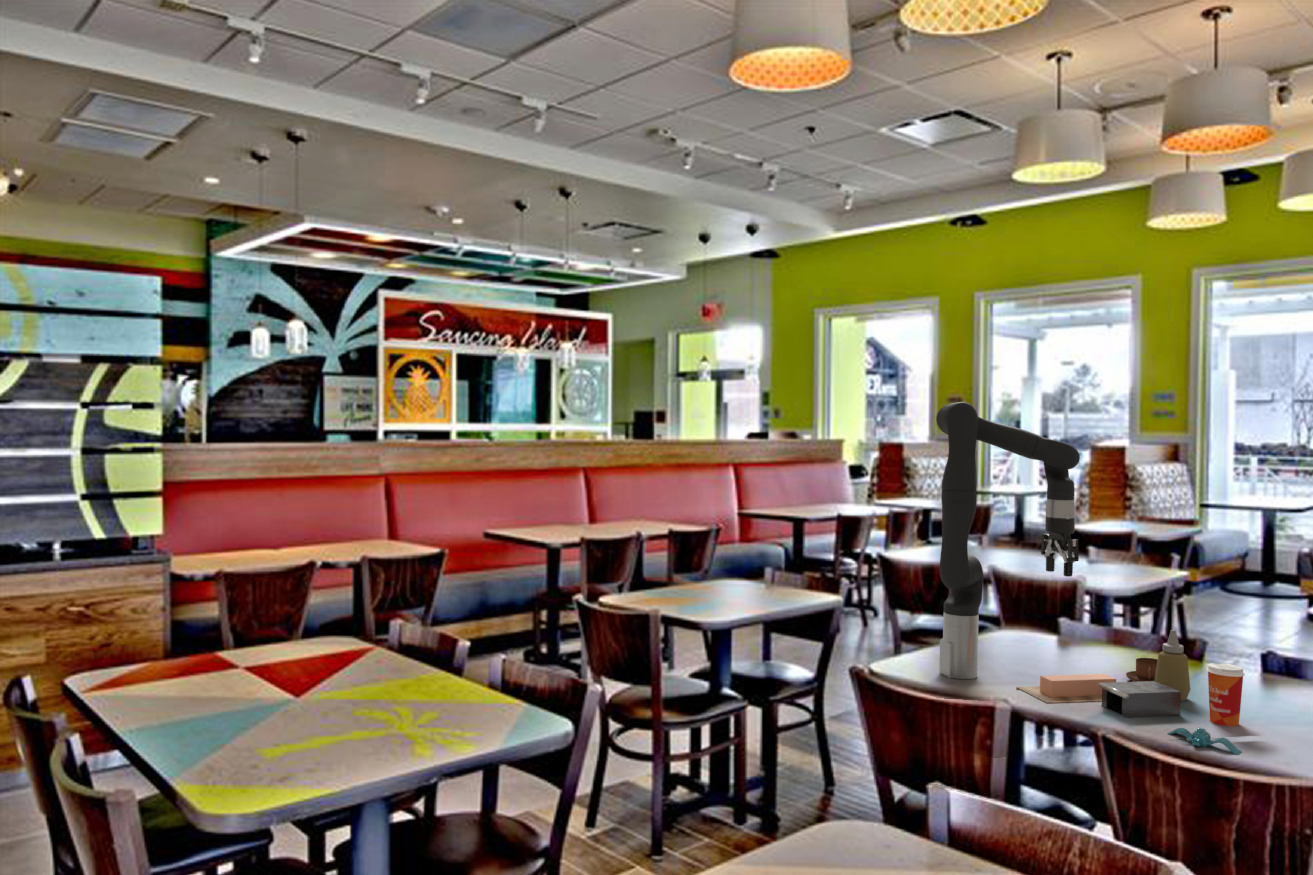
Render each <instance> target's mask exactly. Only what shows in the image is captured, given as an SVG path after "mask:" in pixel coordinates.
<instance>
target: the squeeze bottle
mask: <svg viewBox="0 0 1313 875" xmlns="http://www.w3.org/2000/svg"><path fill="white" fill-rule="evenodd" d="M1169 631H1170V632H1169V636H1168V639H1167V642H1165V643H1162V651H1160V652H1159V653H1157V654H1158V655H1157V659H1158V661H1157V668H1156V675H1155V682H1157V683H1160V684H1162V685H1165V686H1167V687H1170V688H1173V689H1175V690H1178V691H1180V692H1181V700H1180V702H1185V701H1187V699H1188V697H1189V694H1190V692H1191V683H1190V682H1191V681H1190V680H1191V679H1190V672H1189V671H1190V670H1189V659H1188V656H1187V655H1186V654H1185V653H1184V648H1185V647H1184V645H1182V644H1180V642H1179V639H1178V634H1177V630H1175V629H1171V630H1169Z"/></svg>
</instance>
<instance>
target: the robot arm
mask: <svg viewBox="0 0 1313 875" xmlns="http://www.w3.org/2000/svg"><path fill="white" fill-rule="evenodd" d="M935 421H936V425H937V427H938V428H939V429H940V430H941V432H943V433H944V434H945V435H947V438H948V456H947V462H946V464H945V468H944V472H943V476H942V480H941V535H942V537H941V548H940V559H939V577H940V580H941V582H942V583H943V585H944V586H945V587H946V588H947V589H950V592H949V594H948V597H947V598H946V599H945V601H944V602H943V624H942V625H943V628H942V638H940V639H939V673H940V674H941V675H943V676H946V677H947V678H948V679H959V680H960V679H961V680H971V679H976V678H977V677H978V670H979V669H978V667H979V666H978V665H979V664H978V663H979V661H978V660H979V658H978V655H979V653H978V652H979V620H980V619H979V615H980V614H979V613H980V607H981V604H982V599H983V588H984V587H983V586H984V571H983V570H984V569H983V565H982V563H981V562H980V560H979V559H978V558H977V557H976V556H974V555H972V554H969V553H968V543H969V542H968V540H969V535H970V531H971V528H972V525H973V522H974V518H975V515H976V513H977V505H978V502H977V501H978V500H977V499H978V498H977V493H978V492H977V465H976V464H977V462H976V461H977V460H976V448H977V441H979V442H983V443H985V444H989V445H992V446H993V447H996V448H999V449H1002V450H1005V451H1007V452H1010V453H1013V454H1016V455H1018V456H1021V457H1023V458H1027V459H1030V460H1035V461H1040V462H1043V468H1044V474H1045V478H1046V483H1047V488H1046V505H1045V522H1044V523H1045V526H1044V527H1045V529H1044V530H1045V532H1046V533H1042V534H1041V546H1040V554H1041V555H1043V556H1044V558H1045V571H1046V572H1048V573H1051V572H1055V565H1056V564H1055V559H1056V558H1055V557H1056V555H1057V553H1058V554H1059V555H1060V556H1061V557H1062V559H1063V576H1064V577H1067V578H1068V577H1072V576H1073V572H1074V571H1073V568H1074V566H1073V565H1074V563H1075V562H1079V561H1080V560H1079V553H1080V552H1079V550H1080V549H1079V539H1078V538H1077V539H1076V538H1073V539H1072V538H1071V535H1072V534H1074V533H1075V532H1076V530H1075V525H1076V524H1075V522H1076V519H1075V518H1076V505H1075V483H1074V480H1072V479H1071V478H1070V473H1069V470H1071V469H1074V468H1076V466H1077V465H1078V464H1079V462H1080V453H1079V450H1078V449H1077V448H1076V447H1075V446H1073V445H1071V444H1069V443H1066V442H1062V441H1058V440H1054V439H1051V438H1047V437H1044V436H1041V435H1039V434H1037V433H1034V432H1032V431H1028V430H1025V429H1022V428H1019V427H1015V426H1012V425H1007V424H1003V423H998V422H995V421H991V420H989V419H986V418H983V417H981V416H978V412H977V410H976V408H975V407H974V405H972V404H970V403H969V402H966V401H964V402H963V401H959V402H951V403H948V404H945V405H943V406H942V407H941V408H940V409H939V410H938V411H937V413H936V420H935Z"/></svg>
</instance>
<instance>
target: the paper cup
mask: <svg viewBox="0 0 1313 875" xmlns="http://www.w3.org/2000/svg"><path fill="white" fill-rule="evenodd" d="M1207 666H1208V667H1207V668H1206V670H1205V671H1207V684H1208V708H1209V709H1208V710H1209V721H1210V722H1211V723H1212V724H1216V725H1219V726H1222V727H1223V726H1224V727H1238V726H1239V725H1240V716H1241V705H1242V694H1243V682H1244V676H1245V675H1246V674H1245V672H1244V669H1243V667H1241V666H1238V665H1236V664H1231V663H1230V664H1229V663H1223V662H1221V663H1218V662H1217V663H1216V662H1215V663H1212V662H1211V663H1209V664H1208V665H1207Z"/></svg>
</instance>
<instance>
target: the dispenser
mask: <svg viewBox="0 0 1313 875" xmlns="http://www.w3.org/2000/svg"><path fill="white" fill-rule="evenodd" d="M1098 686H1099V687H1100V688H1102V702H1101V705H1100V706H1102V707H1103V708H1105V709H1107V710H1110V711H1112V712H1114V713H1116V714H1117V715H1119V716H1123V717H1124V718H1127V719H1135V718H1137V719H1138V718H1160V717H1181V716H1182V715H1181V701H1180V700H1181V692H1180V691H1178V690H1175V689H1173V688H1170V687H1167V686H1165V685H1162V684H1160V683H1157V682H1155V681H1142V682H1133V681H1119V682H1118V681H1116V682H1111V683H1099V684H1098Z"/></svg>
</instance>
